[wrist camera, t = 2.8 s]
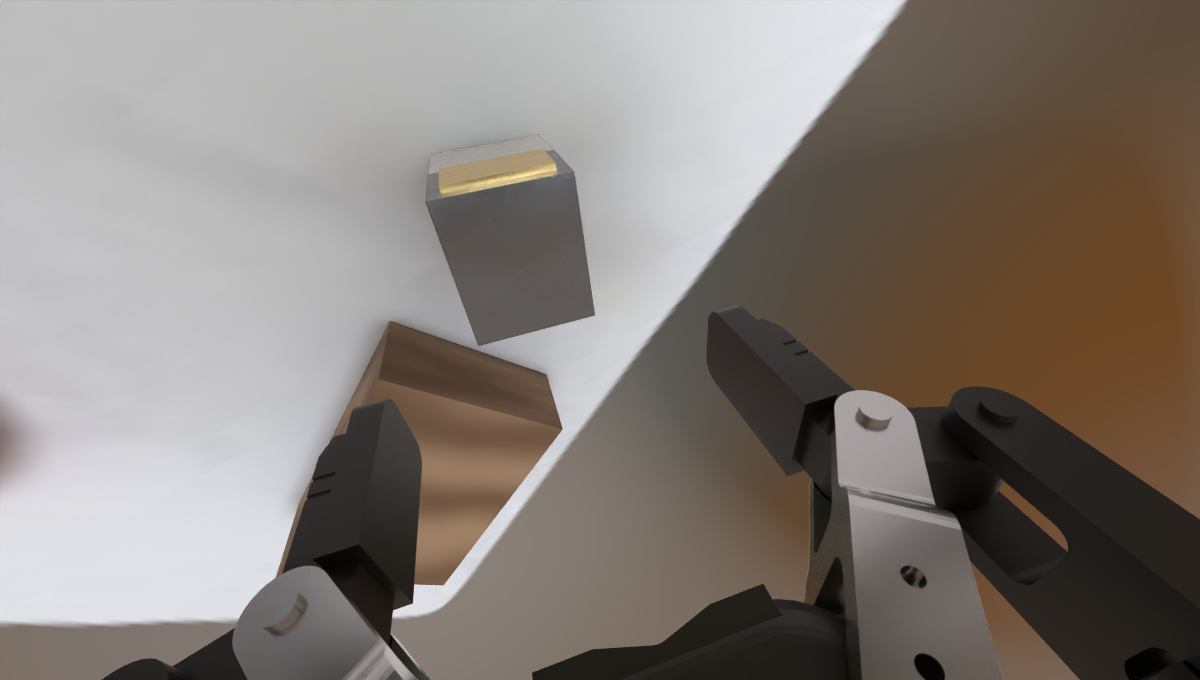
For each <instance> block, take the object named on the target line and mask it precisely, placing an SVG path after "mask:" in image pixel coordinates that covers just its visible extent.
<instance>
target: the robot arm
mask: <svg viewBox="0 0 1200 680" xmlns="http://www.w3.org/2000/svg"><path fill="white" fill-rule="evenodd" d="M707 365H708V369H709V372H710V374H711V376H712V378H713V380H714V381H715V383H716V384H717V385H718V386H719V388H720V389H721V390H722V392H723V393H724V394H725V396H726V397H727V398H728V399H729V401H730V402H731V403H732V405H733V406H734V407H735V409H736V410H737V411H738V412H739V414H740V415H741V416H742V418H743V419H744V420H745V422H746V423H747V424H748V425H749V427H750V428H751V429H752V431H753V432H754V433H755V435H756V436H757V437H758V438H759V440H760V441H761V442H762V444H763V445H764V446H765V447H766V449H767V450H768V451H769V453H770V454H771V455H772V457H773V458H774V459H775V460H776V462H777V463H778V464H779V466H780V467H781V468H782V470H783V471H784V472H785V473H786V475H787V476H789V475H792V474H795V473H798V472H801V471H804V470H805V471H806V472H807V474H808V475H809V476H810V477H811V478H812V479H811V482H810V507H809V508H810V509H809V510H810V512H809V515H810V516H809V522H810V523H809V526H810V527H809V568H808V575H807V580H806V588H805V599H804V603H803V602H799V601H794V600H783V599H772V598H771V597H770V595H769V593H768V591H767V590H766V588H765V586H764V584H761V585H759V586H756V587H753V588H751V589H748V590H746V591H743V592H740V593H738V594H735V595H733V596H730V597H728V598H725V599H723V600H720V601H717V602H715V603H712V604H710V605H709V606H707V607H706V608H705V609H704V610H702V611H701V612H700V613H699V614H697V615H696V616H695V617H694V618H692V619H691V620H690V621H689V622H687V623H686V624H685V625H684V626H682V627H681V628H680V629H679V630H678V631H676V632H675V633H674V634H673V635H671V636H670V637H669V638H668V639H666V640H665V641H664V642H662V643H660V644H658V645H653V646H640V647H639V646H638V647H622V648H607V649H592V650H590V651H587V652H585V653H582V654H580V655H577V656H575V657H572V658H569V659H566V660H564V661H562V662H559V663H556V664H554V665H551V666H548V667H546V668H543V669H541V670H538V671H535V672H533V673H532V677H533V680H1003V679H1002V675H1001V672H1000V668H999V665H998V661H997V658H996V654H995V651H994V646H993V643H992V640H991V636H990V632H989V628H988V625H987V621H986V617H985V614H984V610H983V607H982V603H981V600H980V596H979V592H978V588H977V585H976V581H975V578H974V574H973V570H972V567H971V563H970V561H971V562H972V563H973V564H974V565H975V566H976V568H977V569H978V570H979V571H980V572H981V573H982V574H983V575H984V576H985V577H986V578H987V579H988V580H989V582H990V583H991V584H992V585H993V586H994V587H995V588H996V589H997V590H998V591H999V592H1000V593H1001V595H1002V596H1003V597H1004V598H1005V599H1006V600H1007V601H1008V602H1009V603H1010V604H1011V605H1012V606H1013V608H1014V609H1015V610H1016V611H1017V612H1018V613H1019V614H1020V615H1021V616H1022V617H1023V618H1024V619H1025V621H1026V622H1027V623H1028V624H1029V625H1030V626H1031V627H1032V628H1033V629H1034V630H1035V631H1036V632H1037V634H1038V635H1039V636H1040V637H1041V638H1042V639H1043V640H1044V641H1045V642H1046V643H1047V644H1048V645H1049V647H1050V648H1051V649H1052V650H1053V651H1054V652H1055V653H1056V654H1057V655H1058V656H1059V657H1060V658H1061V660H1062V661H1063V662H1064V663H1065V664H1066V665H1067V666H1068V667H1069V668H1070V669H1071V670H1072V671H1073V673H1074V674H1075V675H1076V676H1077V677H1078V678H1079V679H1080V680H1200V519H1198V518H1197V517H1195V516H1194V515H1192V514H1191V513H1189V512H1188V511H1186V510H1185V509H1183V508H1182V507H1181V506H1179V505H1178V504H1176V503H1175V502H1173V501H1172V500H1170V499H1169V498H1167V497H1166V496H1164V495H1163V494H1161V493H1160V492H1158V491H1157V490H1155V489H1154V488H1152V487H1151V486H1150V485H1148V484H1147V483H1145V482H1144V481H1142V480H1141V479H1139V478H1138V477H1136V476H1135V475H1133V474H1132V473H1130V472H1129V471H1127V470H1126V469H1124V468H1123V467H1121V466H1120V465H1119V464H1117V463H1116V462H1114V461H1113V460H1111V459H1110V458H1108V457H1107V456H1105V455H1104V454H1102V453H1101V452H1099V451H1098V450H1096V449H1095V448H1093V447H1092V446H1091V445H1089V444H1088V443H1086V442H1085V441H1083V440H1082V439H1080V438H1079V437H1077V436H1076V435H1074V434H1073V433H1071V432H1070V431H1068V430H1067V429H1065V428H1064V427H1063V426H1061V425H1059V424H1058V423H1057V422H1055V421H1053V420H1052V419H1051V418H1049V417H1048V416H1046V415H1045V414H1043V413H1042V412H1040V411H1039V410H1037V409H1036V408H1034V407H1033V406H1031V405H1030V404H1029V403H1027V402H1025V401H1024V400H1022V399H1020V398H1018V397H1016V396H1014V395H1012V394H1009V393H1007V392H1004V391H1001V390H997V389H993V388H987V387H967V388H963V389H960V390H958V391H957V392H955V394H954V395H953V396H952V399H951V400H950V402H949V404H948V406H947V407H921V408H920V407H919V408H906V407H905V406H903V405H902V404H901V403H899V402H898V401H896V400H894V399H893V398H891V397H888V396H886V395H883V394H880V393H877V392H872V391H864V390H859V391H858V390H857V391H855V390H854V389H853V388H852V387H851V386H850V385H848V384H847V383H846V382H845V381H843V379H841V378H840V377H839V376H838V375H837V374H836V373H835V372H833V371H832V370H831V369H830V368H829V367H828V366H826V365H825V364H824V363H823V362H822V361H821V360H820V359H818V358H817V357H816V356H815V355H814V354H813V353H812V352H810V353H809V352H808V349H807V348H806V347H805V346H803V345H802V344H801V343H800V342H797V341H796V339H795V338H794V337H793V336H792V335H791V334H790V333H788V332H787V331H786V330H785V329H784V328H783V327H781V326H779V325H776V324H774V323H772V322H770V321H767V320H765V319H760V320H757V319H756V318H755V317H753V316H752V315H751V314H750V313H749V312H748V311H747V310H746V309H745V308H743V307H742V306H739V305H738V306H734V307H731V308H726V309H723V310H719V311H715V312H712V313H711V314H710V315H709V319H708V338H707ZM421 475H422V457H421V452H420V448H419V445H418V443H417V441H416V439H415V437H414V435H413V434H412V432H411V430H410V428H409V427H408V425H407V423H406V421H405V420H404V418H403V416H402V415H401V413H400V411H399V409H398V408H397V406H396V404H395V403H394V402H393V401H392V400H391V399H385V400H381V401H377V402H374V403H370V404H366V405H363V406H359V407H355V408H354V409H353V410H352V412H351V416H350V419H349V423H348V427H347V431H346V433H345V434H341V435H338V436H334V438H333V439H332V440H331V442H330V443H329V444H328V446H327V447H326V448H325V450H324V451H323V452H322V454H321V455H320V456H319V459H318V462H317V465H316V468H315V471H314V474H313V478H312V479H313V482H312V483H311V484H310V487H309V490H308V493H307V500H306V501H305V503H304V506H303V509H302V512H301V515H300V519H299V522H298V525H297V528H296V531H295V534H294V538H293V541H292V544H291V547H290V550H289V553H288V557H287V560H286V563H285V566H284V569H283V572H282V574H281V575H280V576H278V577H276V578H275V579H273V580H272V581H271V582H270V583H268V584H267V585H266V586H265V587H264V588H262V589H261V590H260V591H259V592H258V593H257V594H256V595H255V597H254V598H253V599H252V600H251V601H250V602H249V604H248V605H247V606H246V608H245V609H244V611H243V613H242V614H241V616H240V618H239V620H238V622H237V624H236V627H235V628H234V629H232V630H231V631H229V632H228V633H226V634H225V635H223V636H221V637H220V638H218V639H216V640H215V641H213V642H212V643H210V644H208V645H207V646H205V647H203V648H202V649H200V650H199V651H197V652H195V653H194V654H192V655H190V656H189V657H187V658H185V659H184V660H182V661H181V662H179V663H178V664H176V665H174V666H170V665H168V664H166V663H164V662H161V661H159V660H157V659H141V660H138V661H135V662H132V663H130V664H128V665H125V666H123V667H121V668H120V669H118V670H116V671H114V672H112V673H111V674H109V675H108V676H107V677H105V678H104V679H102V680H430V678H429V677H428V676H427V675H426V673H425V672H424V671H423V670H422V669H421V667H420V666H419V665H418V664H417V662H416V661H415V660H414V659H413V658H412V657H411V655H410V654H409V653H408V651H407V650H406V649H405V648H404V647H403V645H402V644H401V643H400V642H399V641H398V639H397V638H396V637H395V636H394V634H393V633H392V632H391V622H392V613H393V610H395V609H398V608H401V607H404V606H407V605H410V604H413V593H414V578H415V563H416V549H417V534H418V519H419V504H420V490H421ZM1005 482H1006V483H1007V484H1008V485H1009V486H1010V487H1012V488H1013V489H1014V490H1015V491H1017V492H1018V493H1019V494H1020V495H1021V496H1022V497H1023V498H1025V499H1026V500H1027V501H1028V502H1029V503H1030V504H1031V505H1033V506H1034V507H1035V508H1036V509H1037V510H1039V511H1040V512H1041V513H1042V514H1043V515H1044V516H1046V517H1047V518H1048V519H1049V520H1050V521H1051V522H1052V523H1054V524H1055V525H1056V526H1057V527H1058V528H1059V529H1060V531H1061V532H1062V534H1063V535H1064V537H1065V538H1066V541H1067V544H1068V552H1067V551H1066V550H1065V549H1064V548H1062V547H1061V546H1060V545H1059V544H1058V543H1057V542H1056V541H1055V540H1053V539H1052V538H1051V537H1050V536H1049V535H1048V534H1047V533H1045V532H1044V531H1043V530H1042V529H1041V528H1040V527H1039V526H1037V525H1036V524H1035V523H1034V522H1033V521H1032V520H1031V519H1030V518H1028V516H1026V515H1025V514H1024V513H1023V512H1022V511H1021V510H1020V509H1018V508H1017V507H1016V506H1015V505H1014V504H1013V503H1012V502H1010V501H1009V500H1008V499H1007V498H1006V497H1005V496H1004V495H1003V494H1001V493H1000V492H999V490H1000V489H1001V487H1002V486H1003V485H1004V483H1005Z"/></svg>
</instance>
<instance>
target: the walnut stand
mask: <svg viewBox="0 0 1200 680" xmlns="http://www.w3.org/2000/svg"><path fill="white" fill-rule="evenodd" d="M385 399H391V400H392V401H393V402H394V403H395V404H396V406H397V408H398V409H399V411H400V413H401V415H402V416H403V418H404V420H405V421H406V423H407V425H408V427H409V428H410V430H411V432H412V434H413V435H414V437H415V439H416V441H417V443H418V445H419V448H420V452H421V457H422V475H421V490H420V504H419V519H418V534H417V549H416V563H415V578H414V584H419V585H444V584H445V583H446V581H447V580H448V579H449V577H450V576H451V575H452V573H453V572H454V571H455V570H456V568H457V567H458V566H459V564H460V563H461V562H462V560H463V559H464V558H465V556H466V555H467V554H468V552H469V551H470V550H471V549H472V547H473V546H474V545H475V543H476V542H477V541H478V539H479V538H480V537H481V535H482V534H483V533H484V532H485V530H486V529H487V528H488V526H489V525H490V524H491V522H492V521H493V520H494V518H495V517H496V516H497V514H498V513H499V512H500V511H501V509H502V508H503V507H504V505H505V504H506V503H507V501H508V500H509V499H510V497H511V496H512V495H513V494H514V492H515V491H516V490H517V488H518V487H519V486H520V484H521V483H522V482H523V480H524V479H525V478H526V476H527V475H528V474H529V473H530V471H531V470H532V469H533V467H534V466H535V465H536V463H537V462H538V461H539V459H540V458H541V457H542V456H543V454H544V453H545V452H546V450H547V449H548V448H549V446H550V445H551V444H552V442H553V441H554V440H555V438H556V437H557V436H558V435H559V433H560V432H561V431H562V425H561V422H560V419H559V415H558V412H557V409H556V405H555V402H554V399H553V395H552V392H551V389H550V385H549V382H548V378H547V375H545V374H542V373H539V372H536V371H534V370H531V369H528V368H525V367H522V366H519V365H516V364H513V363H510V362H507V361H504V360H501V359H499V358H496V357H493V356H490V355H487V354H484V353H481V352H478V351H475V350H472V349H469V348H466V347H464V346H461V345H458V344H455V343H452V342H449V341H446V340H443V339H440V338H437V337H434V336H431V335H429V334H426V333H423V332H420V331H417V330H414V329H411V328H408V327H405V326H402V325H399V324H396V323H394V322H391V321H390V322H389V324H388V326H387V328H386V330H385V332H384V334H383V336H382V338H381V340H380V342H379V344H378V346H377V348H376V350H375V352H374V354H373V356H372V358H371V360H370V362H369V364H368V366H367V368H366V370H365V372H364V374H363V376H362V379H361V381H360V383H359V385H358V387H357V389H356V391H355V393H354V395H353V397H352V399H351V401H350V403H349V405H348V407H347V409H346V411H345V413H344V415H343V417H342V419H341V421H340V423H339V425H338V427H337V429H336V431H335V433H334V435H333V437H332V439H333V438H334V436H338V435H341V434H345V433H346V431H347V427H348V423H349V419H350V416H351V412H352V410H353V409H354V408H355V407H359V406H363V405H366V404H370V403H374V402H377V401H381V400H385ZM332 439H331V440H332ZM330 442H331V441H330ZM312 478H313V477H312ZM312 482H313V479H311V481H310V483H309V485H308V487H307V489H306V491H305V493H304V495H303V497H302V499H301V501H300V503H299V505H298V508H297V512H296V515H295V518H294V521H293V524H292V528H291V531H290V534H289V537H288V540H287V544H286V547H285V550H284V553H283V556H282V560H281V563H280V566H279V569H278V572H277V575H276V577H278V576H280V575H281V574H282V572H283V569H284V566H285V563H286V560H287V557H288V553H289V550H290V547H291V544H292V541H293V538H294V534H295V531H296V528H297V525H298V522H299V519H300V515H301V512H302V509H303V506H304V503H305V501H306V500H307V493H308V490H309V487H310V484H311V483H312Z"/></svg>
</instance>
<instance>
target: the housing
mask: <svg viewBox="0 0 1200 680" xmlns="http://www.w3.org/2000/svg"><path fill="white" fill-rule="evenodd" d="M425 202H426V205H427V207H428V210H429V213H430V216H431V218H432V221H433V224H434V226H435V229H436V232H437V235H438V237H439V240H440V243H441V245H442V248H443V251H444V254H445V256H446V259H447V262H448V265H449V267H450V270H451V273H452V275H453V278H454V281H455V284H456V286H457V289H458V292H459V295H460V297H461V300H462V303H463V305H464V308H465V311H466V314H467V316H468V319H469V322H470V324H471V327H472V330H473V333H474V335H475V338H476V341H477V344H478V346H480V345H484V344H488V343H492V342H495V341H499V340H503V339H507V338H511V337H514V336H518V335H522V334H526V333H530V332H533V331H537V330H541V329H545V328H549V327H552V326H556V325H560V324H564V323H568V322H571V321H575V320H579V319H583V318H587V317H590V316H594V315H595V313H594V306H593V299H592V292H591V285H590V278H589V271H588V264H587V257H586V251H585V244H584V237H583V230H582V223H581V216H580V209H579V202H578V195H577V188H576V181H575V175H574V171H573V170H572V169H571V168H570V167H569V166H568V164H567V163H566V162H565V161H564V160H563V159H562V158H561V157H560V156H559V155H558V154H557V153H556V152H555V151H554V150H553V149H552V148H551V147H550V146H549V145H548V144H547V142H546V141H545V140H544V139H543V138H542V137H541V136H540V135H539V134H538V135H533V136H528V137H522V138H517V139H512V140H506V141H501V142H495V143H490V144H485V145H479V146H474V147H468V148H463V149H458V150H452V151H447V152H441V153H436V154H431V157H430V166H429V174H428V183H427V192H426V200H425Z"/></svg>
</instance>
